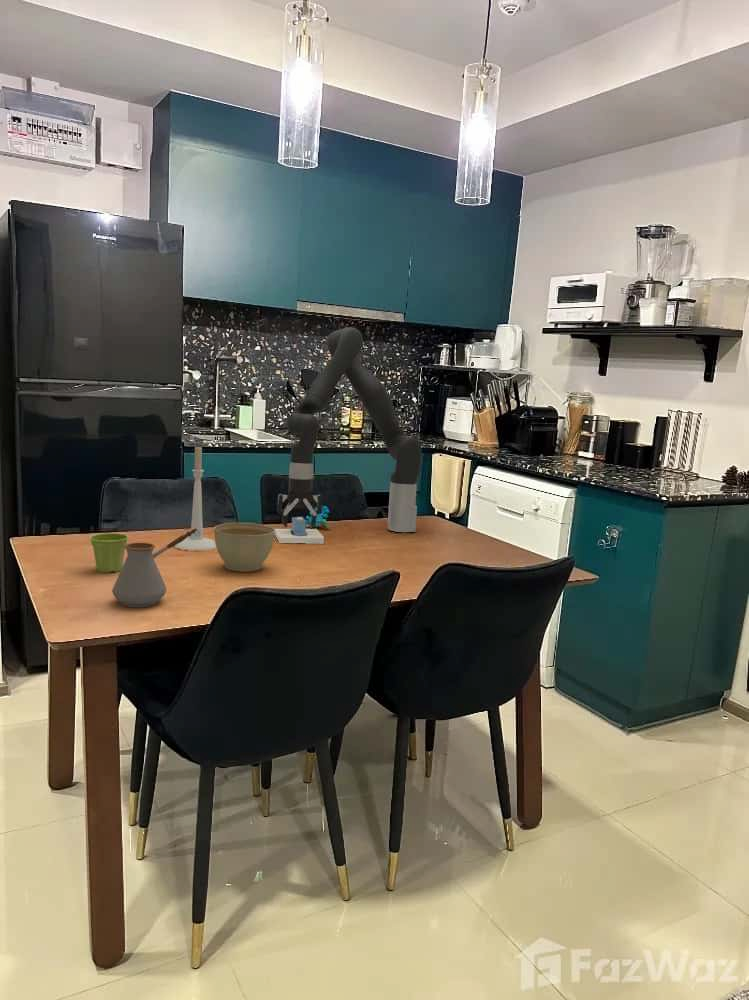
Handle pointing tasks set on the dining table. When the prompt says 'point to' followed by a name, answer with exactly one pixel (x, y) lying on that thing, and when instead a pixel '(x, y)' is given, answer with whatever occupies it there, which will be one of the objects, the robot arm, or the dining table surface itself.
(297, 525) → the servo
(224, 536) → the planter bowl
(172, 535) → the dining table surface
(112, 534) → the plant pot
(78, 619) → the dining table surface
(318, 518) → the blue coral
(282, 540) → the chassis board
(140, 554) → the coffee pot
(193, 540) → the candlestick
